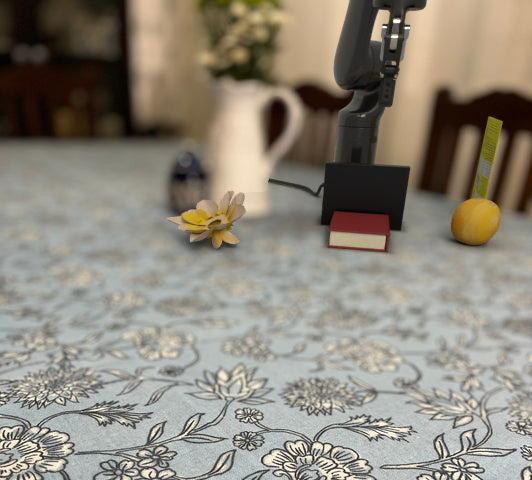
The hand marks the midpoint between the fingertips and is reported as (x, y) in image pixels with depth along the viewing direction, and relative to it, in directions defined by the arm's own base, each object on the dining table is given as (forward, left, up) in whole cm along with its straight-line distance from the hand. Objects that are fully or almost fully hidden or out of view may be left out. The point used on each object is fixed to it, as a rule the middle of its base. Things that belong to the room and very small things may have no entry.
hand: (384, 106), depth 80 cm
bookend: (-12, +14, -23) cm, 29 cm away
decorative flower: (-22, -18, -23) cm, 37 cm away
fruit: (+10, +19, -23) cm, 31 cm away
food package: (+1, +38, -23) cm, 45 cm away
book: (-5, +4, -23) cm, 24 cm away
